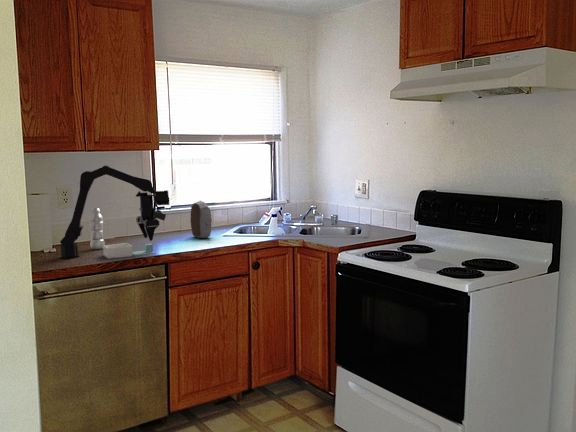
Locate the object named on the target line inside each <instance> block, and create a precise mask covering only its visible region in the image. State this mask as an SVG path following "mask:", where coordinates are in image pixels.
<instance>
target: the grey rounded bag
mask: <svg viewBox="0 0 576 432" xmlns="http://www.w3.org/2000/svg"><path fill="white" fill-rule="evenodd" d="M212 222H213V221H212V213H211V209H210V207H209V206H208V204H207V203H206V202H204V201H202V200H199V201H196V202H193V203H192V204H191V207H190V228H191V233H192V236H194V237H195V238H198V239H206V238H209V237H211V234H212V233H211V232H212Z"/></svg>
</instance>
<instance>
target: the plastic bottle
mask: <svg viewBox="0 0 576 432" xmlns="http://www.w3.org/2000/svg"><path fill="white" fill-rule="evenodd" d="M90 211H91V214H90V216H89V218H88V222H89V226H90V242H89V244H90V248H91V249H92V250H101V249H103V245H106V244H105V239H104V232H103V231H104V230H103V229H104V227H103V225H104V216H103V215H102V214H101V213H100V212H101V211H100V208H99V207H92V208H91V210H90Z"/></svg>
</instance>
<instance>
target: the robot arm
mask: <svg viewBox="0 0 576 432" xmlns="http://www.w3.org/2000/svg"><path fill="white" fill-rule="evenodd" d="M105 175H106V176H110V177H112V178H115V179H117V180H120V181H123V182H124V183H128V184H131V185H132V186H134V187H135V188H136V189H139V190H138V192H137V194H135V197H138V198H139V203H140V204H139V205H140V208H139V211H140V215H137V217H136V218H135V222H136V223H137V226H138V228H139V230H140V231H141V233H142V235H143V237H144V239H147V238H148V239H149V241H151V242H152V241H153V238H154V234H155V231H156V229H157V228H158V227H159V226H160V221H165V219H166V218H167V217H166V216H167V214H166V213H163V212H162V210H160V209H156V208H155V207H154V204H156V206H170V197H169V190H156V188H154V187H153V182H152V181H151V180H150V179H149V178H146V177H142V176H135V175H132V174H129V173H127V172H124V171H121V170H119V169H116V168H113V167H111V166H110V165H107V164H105V165H103V166H101V167H99V168H97V169H94V170H91V171H90V170H86V171H84V172H82V173H81V174H80V178H79V179H80V181H79V192H78V196H77V200H76V203H75V207H74V210H73V215H72V218H71V220H70V223H69V225H68V227H67V229H66V230H65V233H64V236H63V238H62V239H61V240H60V241H59V242H60V256H58V258H60V259H65V260H70V259H73V258H74V259H75V258H79V257H81V256H80V254H79V250H78V249H79V248H78V247H79V246H78V243H77V242H76V241H78V238H79V237H81V236H82V235H83V232H82V231H83V229H84V227H85V226H84V225H82V223H81V222H82V217H83V216H84V215H83V214H84V211H85V206H86V203H87V199H88V196H89V192H90V190H91V189H92V185H93V184H94V182H95V180H97V179H98V178H101V177H103V176H105ZM141 191H142V192H141ZM148 192H149V193H150V194H148Z"/></svg>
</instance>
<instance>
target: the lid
mask: <svg viewBox="0 0 576 432" xmlns="http://www.w3.org/2000/svg"><path fill="white" fill-rule="evenodd" d="M153 244H154V243H153ZM153 244H152V243H145V244H144V250H140V251H139V250H137V251H133V256H141V255H143V256H144V255H153V254H155V252H154V249H153V247H154V246H153Z"/></svg>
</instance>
